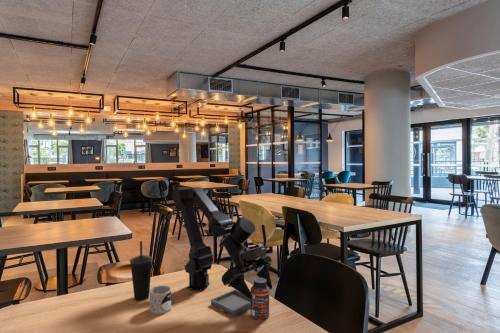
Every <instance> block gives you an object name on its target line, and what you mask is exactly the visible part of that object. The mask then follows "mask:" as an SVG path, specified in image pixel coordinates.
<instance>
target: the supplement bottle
mask: <svg viewBox="0 0 500 333" xmlns="http://www.w3.org/2000/svg"><path fill="white" fill-rule="evenodd" d="M270 291H271V290H270V289H269V287H268V286H267V280H266V279H265V278H259V277H255V278H254V279H253V284H252V286H251V287H250V292H251V294H252V296H253V298H252V299H251V307H250V309H249V310H250V316H251V318H253V319H255V320H259V321H260V320H265V319H268V318H269V316H270V296H271V295H270V294H271V293H270Z"/></svg>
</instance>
